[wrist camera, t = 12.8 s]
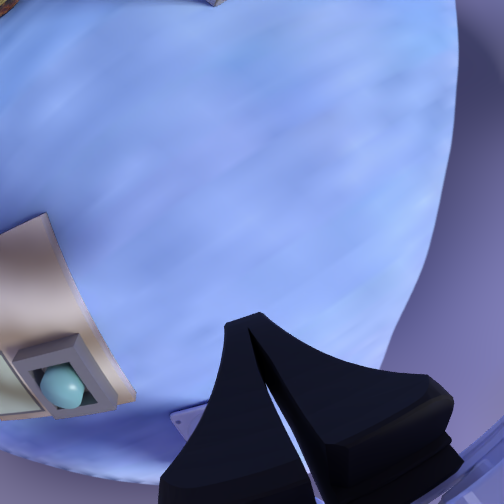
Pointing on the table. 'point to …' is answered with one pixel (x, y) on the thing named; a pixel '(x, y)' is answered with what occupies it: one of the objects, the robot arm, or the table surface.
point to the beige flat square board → (42, 314)
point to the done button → (62, 386)
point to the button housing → (83, 363)
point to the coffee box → (215, 2)
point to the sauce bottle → (6, 6)
